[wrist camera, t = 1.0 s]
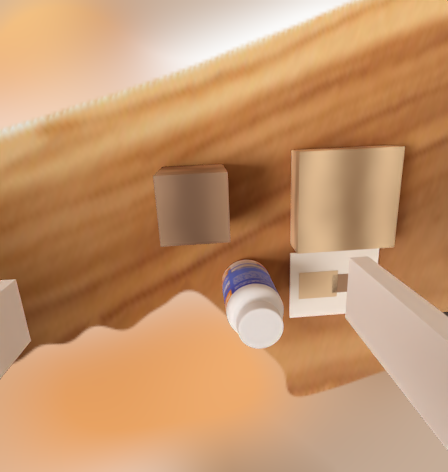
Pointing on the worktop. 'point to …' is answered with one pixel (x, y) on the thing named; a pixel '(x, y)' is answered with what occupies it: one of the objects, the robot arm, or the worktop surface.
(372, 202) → the oak base slab
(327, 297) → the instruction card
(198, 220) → the walnut block
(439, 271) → the worktop surface
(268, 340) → the pill bottle
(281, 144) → the worktop surface
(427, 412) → the robot arm
